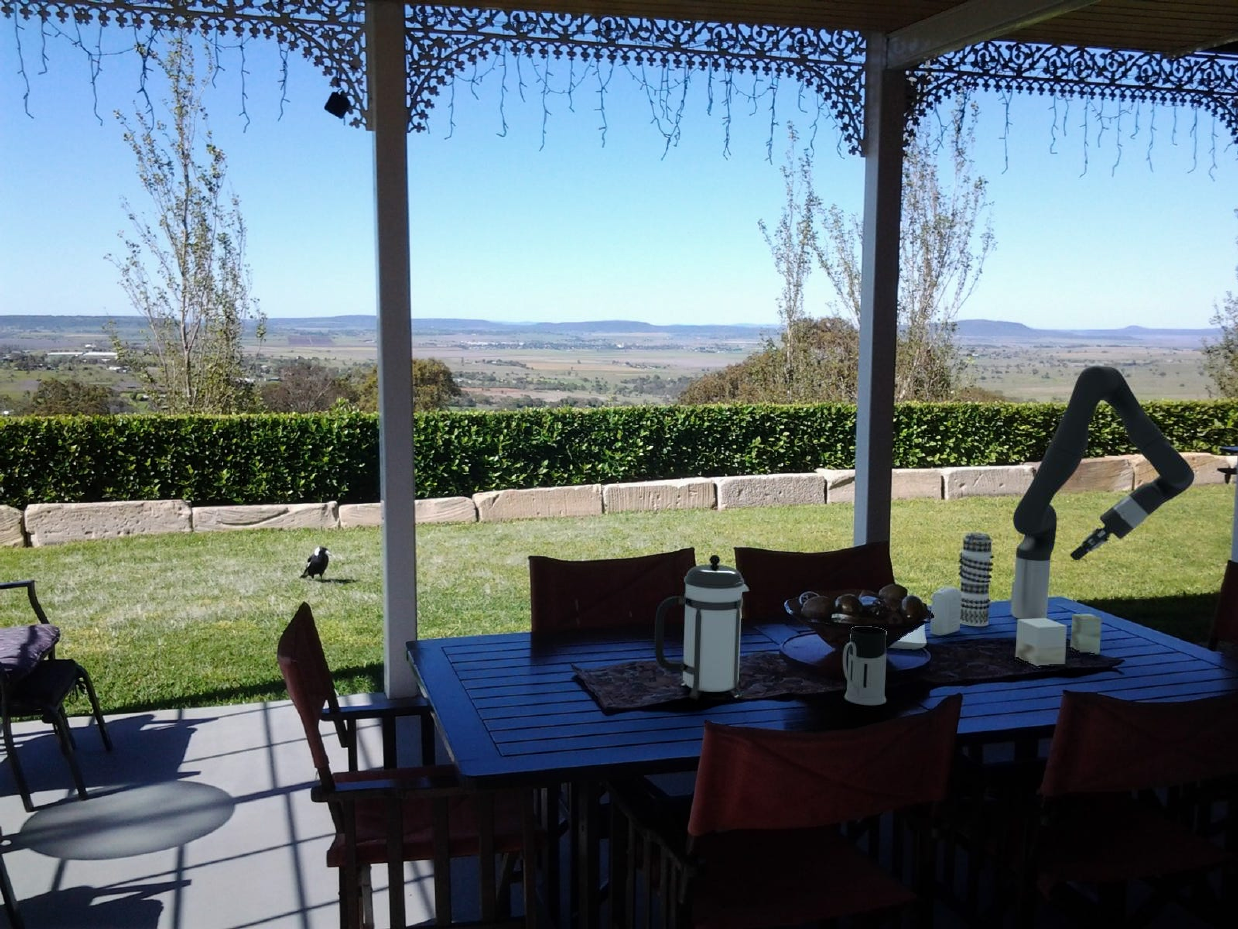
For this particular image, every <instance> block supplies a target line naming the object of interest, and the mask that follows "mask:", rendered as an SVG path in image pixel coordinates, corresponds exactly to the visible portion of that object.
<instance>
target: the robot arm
mask: <svg viewBox="0 0 1238 929" xmlns="http://www.w3.org/2000/svg"><path fill="white" fill-rule="evenodd" d="M1128 384H1129V383H1128V382H1127V381H1126V379H1125V377H1124V376H1123V374H1122V373H1121V371H1119V369H1117V368H1115V367H1113V366H1107V365H1090V366H1087V367H1085V368H1084V369H1083V370H1082V371H1081V372H1080V374H1079V375H1078V377H1077V380H1076V381H1075V384H1074V387H1073V391H1072V393H1071V396H1070V399H1069V401H1068V405H1067V406H1066V407H1067V408H1066V409H1065V412H1064V414H1063V416H1062V418H1061V420H1060V422H1059V424H1058V427H1057V429H1056V431H1055V433H1054V435H1053V437H1052V439H1051V441H1050V443H1049V445H1048V446H1047V449H1046V451H1045V453H1044V456H1043V459H1042V460H1041V463H1040V464H1039V467H1038V468H1037V470H1036V473H1035V475H1034V478H1033V479H1032V480H1031V483H1030V485H1029V487H1028V488H1027V490H1026V492H1025V493H1024V495H1023V497H1022V498H1021V500H1020V501H1019V503H1018V504H1017V506H1016V508H1015V510H1014V513H1013V516H1012V522H1013V523H1012V524H1013V526H1014V529H1015V530H1016V531H1017V532H1018V534H1021V535H1024V537H1023V539H1022V541H1021V543H1020V544H1019V545H1017V547H1016V551H1015V564H1014V566H1015V568H1014V581H1012V583H1011V595H1010V596H1011V600H1010V601H1011V602H1010V610H1009V611H1010V615H1012V616H1011V617H1013V618H1016V619H1036V618H1047V616H1048V601H1049V586H1050V571H1051V557H1052V552H1053V550H1054V548H1055V544H1056V537H1057V536H1056V534H1057V524H1058V516H1057V513H1056V512H1057V511H1056V510H1055V508H1054V506H1052V504H1051V502H1052V500H1053V499H1054V497H1055V495H1056V494H1057V493H1058V491H1059V490H1060V489H1061V488H1062V487H1063V486H1064V485H1065V484H1066V483H1067V482H1068V481H1069V480H1070V479H1071V477H1072V476H1073V475H1074V474H1075V472H1076V471H1077V470H1078V468H1079V466H1080V464H1081V462H1082V460H1083V458H1084V456H1085V454H1086V452H1087V449H1088V444H1089V427H1090V422H1091V418H1092V416H1093V415H1094V413H1095V411H1096V408H1097V406H1098V405H1099V404H1100V402H1101V401H1104V402H1105V403H1106V404H1107V405H1108V406H1110V407H1111V408H1112V409H1113V410H1114V411H1115V413H1117V415H1118V416H1119V417H1120V419H1121V421H1122V424H1123V427H1124V430H1125V433H1126V434H1127V436H1128V438H1129V439H1130V441H1131V443H1132V444H1133V445H1134V447H1135V448H1136V449H1137V450H1138V452H1139V453H1140V454H1141V455H1142V456H1143V457H1144V459H1146V460H1147V461H1148V462H1149V464H1151V466H1152V468H1153V469H1154V470H1155V471H1156V473H1157V474H1158V476H1157V477H1156V478H1154V479H1153V480H1152V481H1150V482H1144V483H1142V484H1141V485H1139V486H1138V487H1136V488H1135V489H1134V490H1133V491H1131V492H1129V494H1128V495H1126V496H1125V497H1124V498H1122V499H1120V500H1119V501H1118V502H1116V503H1115V504H1114V505H1112V507H1111V508H1109V509H1108V510H1107V511H1105V512H1104V513H1103V514H1102V515H1100V516H1099V520H1100V521H1101V523H1102V524H1104V527H1100V528H1096V529H1094V530H1093V531H1092V532H1091V534H1090V535H1088V536H1087V537H1086V538H1085V540H1082V542H1081V544H1080V545H1079V546H1078V547H1077V548H1076V549H1074V550H1073V551H1072V552H1071V553H1070V555H1069V556H1070V557H1071V558H1072V559H1073V561H1080V560H1081V559H1082V558H1083V557H1085V556H1086V555H1087V554H1089V553H1090V552H1093V551H1094V550H1096V549H1098V548H1099V547H1101V546H1102V545H1105V544H1106V543H1107V542H1108V541H1109V540H1110V539H1109V538H1110V537H1111V534H1113V535H1114V536H1116V538H1117V539H1119V540H1122V539H1123V538H1124V537H1127V535H1128V534H1129V533H1131V532H1133V530H1134V529H1136V528H1138V526H1140V525H1141V524H1142V523H1143V522H1144V521H1145V520H1146V519H1147V518H1148V517H1149V516H1150V515H1152V514H1153V513H1155V511H1156V510H1157V509H1159V508H1160V507H1161V506H1162V505H1163V504H1165V503H1166V502H1167V503H1168V502H1169V501H1170V500H1172V499H1174V498H1176V497H1177V496H1179V495H1181V494H1182V493H1184V492H1185V491H1187V489H1188V488H1190V487H1191V485H1192V484H1193V482H1194V481H1195V480H1194V479H1195V473H1194V470H1193V468H1192V467H1191V465H1190V464H1189V463H1188V461H1187V460H1186V459H1185V458H1184V457H1183V455H1181V454H1180V453H1179V452H1178V451H1177V449H1175V448H1174V447H1173V446H1172V444H1171V443H1170V441H1169V439H1168V438H1167V437H1166V435H1164V433H1163V432H1162V431H1161V430H1160V429H1159V427H1157V425H1156V424H1155V423H1154V421H1152V419H1151V417H1150V416H1149V415H1148V414H1147V413H1146V411H1145V410H1144V409H1143V407H1142V406H1141V404H1140V402H1139V401H1138V399H1137V398H1136V396H1135V395H1134V393H1133V391H1132V390H1131V388H1130V386H1129V385H1128ZM1047 619H1048V618H1047Z"/></svg>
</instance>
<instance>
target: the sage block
mask: <svg viewBox="0 0 1238 929" xmlns="http://www.w3.org/2000/svg"><path fill="white" fill-rule="evenodd" d="M1071 620H1072V621H1071V631H1070V632H1071V634H1070V645H1069V646H1070V647H1073V648H1074V649H1076V650H1079V651H1080V652H1091V653H1095V654H1094V655H1100V652H1101V651H1100V648H1101V638H1102V637H1101V636H1102V634H1101V633H1102V624H1103V622H1102V621H1103V620H1102V618H1101V617H1098V616H1096V615H1094V614H1092V613H1081V614H1080V613H1075V614H1074V613H1073V614H1072V618H1071Z"/></svg>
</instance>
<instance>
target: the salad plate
mask: <svg viewBox="0 0 1238 929" xmlns="http://www.w3.org/2000/svg"><path fill="white" fill-rule="evenodd" d="M925 626H926V624H924V625H922V626H920V627H919V628H918V629H917V630H914V631H913V632H911V633H908V634H907V635H906V636H904V637H902V638H901V639H900V640H898V641H897V642H896V643H894V644H893V646H892V647H890V648H903V649H912V650H918V649H921V648H924V647H925V646H926V645H927V638H926V630H925V628H926V627H925Z"/></svg>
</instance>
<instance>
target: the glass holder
mask: <svg viewBox="0 0 1238 929" xmlns="http://www.w3.org/2000/svg"><path fill="white" fill-rule="evenodd" d="M886 635H887V631H886V630H884V629H882V628H878V627H872V626H855V627H852V628H851V634H850V642H849V643H846V644H845V646H844V648H843V652H842V668H843V673H844V676H845V678H846V680H847V684H846V692H845V694H844V699H845V700H847V701H848V702H850V703H854V704H857V705H861V706H862V705H864V706H878V705H883V704H885V703H886V702H887V698H886V696H885V695H886V694H885V690H886V689H885V686H886V670H887V669H886V668H887V666H886V665H887V648H886ZM847 652H848V662H847ZM847 664H848V665H847Z"/></svg>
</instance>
